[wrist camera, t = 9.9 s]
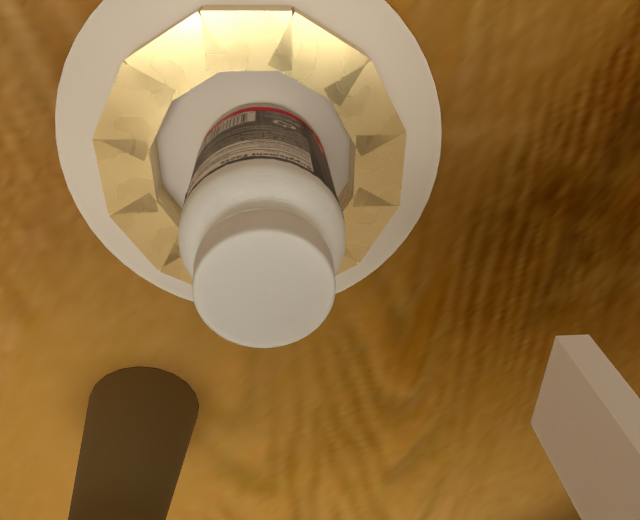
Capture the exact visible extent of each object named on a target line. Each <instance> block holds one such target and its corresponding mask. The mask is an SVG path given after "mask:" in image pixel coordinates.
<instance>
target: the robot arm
mask: <svg viewBox="0 0 640 520" xmlns="http://www.w3.org/2000/svg"><path fill="white" fill-rule="evenodd" d="M530 424H531V426H532V428H533V430H534V431H535V433H536V435H537V437H538V439H539V441H540V443H541V445H542V447H543V448H544V450H545V452H546V454H547V456H548V458H549V460H550V462H551V464H552V466H553V467H554V469H555V471H556V473H557V475H558V477H559V479H560V481H561V483H562V484H563V486H564V488H565V490H566V492H567V494H568V496H569V498H570V500H571V501H572V503H573V505H574V507H575V509H576V511H577V513H578V515H579V517H580V519H581V520H640V398H639V397H638V396H637V395H636V393H635V392H634V391H633V390H632V388H631V387H630V386H629V385H628V383H627V382H626V381H625V379H624V378H623V377H622V376H621V374H620V373H619V372H618V371H617V369H616V368H615V367H614V366H613V364H612V363H611V362H610V361H609V359H608V358H607V357H606V356H605V354H604V353H603V352H602V350H601V349H600V348H599V347H598V345H597V344H596V343H595V342H594V340H593V339H592V338H591V337H590V335H589V334H588V335H562V336H556V337H555V340H554V344H553V347H552V350H551V354H550V357H549V361H548V364H547V368H546V371H545V375H544V378H543V381H542V385H541V388H540V392H539V395H538V399H537V402H536V406H535V409H534V412H533V416H532V419H531V423H530Z"/></svg>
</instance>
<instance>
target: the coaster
mask: <svg viewBox="0 0 640 520" xmlns="http://www.w3.org/2000/svg"><path fill="white" fill-rule="evenodd" d="M204 5H290V6H291V9H292V7H293V6H294V7H296V8H297V9H299V10H300V11H302V12H304V13H305V14H307V15H308V16H310V17H312V18H313V19H315V20H316V21H318V22H320V23H321V24H323V25H324V26H326V27H327V28H329V29H331V30H332V31H334V32H335V33H337V34H339V35H340V36H342V37H343V38H345V39H347V40H348V41H350V42H351V43H353V44H354V45H356V46H358V47H359V48H361V49H362V50H363V51H364V52H365V53H366V54H367V56H368V57H369V58H370V59H371V61H372V63H373V65H374V67H375V69H376V71H377V73H378V75H379V77H380V79H381V81H382V83H383V85H384V87H385V89H386V91H387V93H388V95H389V98H390V100H391V102H392V104H393V106H394V108H395V110H396V112H397V114H398V116H399V118H400V120H401V122H402V124H403V126H404V128H405V130H406V132H405V133H406V134H407V136H406V147H405V157H404V167H403V177H402V187H401V197H400V206H398V207H399V208H398V210H397V211H396V212H395V214H394V215H393V217H392V218H391V219H390V221H389V222H388V224H387V225H386V226H385V228H384V229H383V231H382V232H381V233H380V235H379V236H378V238H377V239H376V240H375V242H374V243H373V245H372V246H371V247H370V249H369V250H368V252H367V253H366V254H365V256H364V257H363V259H362V260H361V261H360V263H358V262H357V264H358V265H356V266H354V267H352V268H350V269H348V270H346V271H344V272H342V273H340V274H338V275H336V276H335V280H336V292H335V294H337V293H339V292H341V291H344V290H345V289H347V288H349V287H350V286H352V285H354V284H356V283H357V282H359V281H361V280H362V279H364V278H365V277H366V276H368V275H369V274H370V273H372V272H373V271H374V270H376V269H377V268H378V267H379V266H381V265H382V264H383V263H384V262H385V261H386V260H387V259H388V258H389V257H390V256H391V255H392V254H393V253H394V252H395V251H396V250H397V249H398V247H399V246H400V245H401V244H402V243H403V241H404V240H405V239H406V238H407V237H408V235H409V234H410V232H411V230H412V229H413V227H414V226H415V224H416V223H417V221H418V220H419V218H420V216H421V214H422V212H423V210H424V208H425V206H426V204H427V202H428V200H429V197H430V194H431V191H432V188H433V185H434V182H435V179H436V175H437V170H438V165H439V160H440V152H441V137H442V128H441V113H440V105H439V101H438V96H437V91H436V86H435V83H434V80H433V77H432V74H431V71H430V69H429V66H428V63H427V60H426V58H425V56H424V54H423V53H422V51H421V49H420V47H419V45H418V43H417V41H416V39H415V37H414V36H413V34H412V33H411V32H410V30H409V29H408V27H407V26H406V25H405V23H404V22H403V20H402V19H401V18H400V16H399V15H398V14H397V13H396V12H395V11H394V10H393V9H392V7H391V6H390V5H389V4H388V3H387V2H386V1H385V0H103V1H102V3H101V4H100V5H99V6H98V7H97V8H96V9H95V10H94V11H93V13H92V14H91V15H90V16H89V18H88V20H87V21H86V23H85V24H84V26H83V27H82V29H81V30H80V32H79V34H78V35H77V37H76V38H75V41H74V43H73V45H72V47H71V50H70V52H69V54H68V56H67V59H66V61H65V64H64V67H63V71H62V75H61V79H60V82H59V86H58V92H57V101H56V110H55V127H56V143H57V148H58V154H59V159H60V165H61V168H62V171H63V174H64V177H65V180H66V183H67V186H68V189H69V191H70V193H71V195H72V197H73V199H74V201H75V203H76V206H77V208H78V210H79V211H80V213H81V214H82V216H83V217H84V219H85V221H86V222H87V224H88V225H89V227H90V228H91V230H92V231H93V232H94V233H95V235H96V236H97V237H98V238H99V239H100V241H101V242H102V243H103V244H104V245H105V247H106V248H107V249H108V250H109V251H110V252H112V253H113V254H114V255H115V256H116V257H117V258H118V259H119V260H120V261H121V262H122V263H123V264H125V265H126V266H127V267H128V268H130V269H131V270H132V271H134V272H135V273H136V274H138V275H139V276H140V277H142V278H144V279H145V280H147V281H149V282H150V283H152V284H154V285H155V286H157V287H159V288H161V289H163V290H165V291H167V292H169V293H172V294H174V295H176V296H178V297H181V298H184V299H187V300H190V301H192V302H194V300H193V294H192V285H191V284H189V283H186V282H184V281H181V280H179V279H176V278H174V277H171V276H169V275H167V274H164V273H162V272H160V269H159V270H157V269H156V268H155V267H154V266H153V265H152V263H151V262H150V261H149V260H148V259H147V258H146V257H145V256H144V254H143V253H142V252H141V251H140V250H139V249H138V248H137V247H136V245H135V244H134V243H133V242H132V241H131V240H130V239H129V238H128V236H127V235H126V234H125V233H124V232H123V231H122V230H121V229H120V228H119V226H118V225H117V224H116V223H115V222H114V221H113V220H112V219H111V217H110V214H108V211H107V206H106V202H105V197H104V192H103V187H102V183H101V178H100V173H99V169H98V164H97V159H96V154H95V150H94V145H93V138H94V137H93V135H94V132H95V130H96V127H97V125H98V122H99V120H100V117H101V115H102V112H103V110H104V107H105V105H106V102H107V100H108V97H109V95H110V92H111V90H112V87H113V85H114V82H115V80H116V77H117V75H118V72H119V69H120V67H121V64H122V62H123V61H124V60H125V59H126V58H127V57H128V56H129V55H130V54H131V53H132V52H133V51H134V50H135V49H137V48H138V47H140V46H141V45H143V44H144V43H146V42H147V41H149V40H150V39H152V38H153V37H155V36H156V35H158V34H159V33H161V32H162V31H164V30H165V29H167V28H169V27H170V26H172V25H173V24H175V23H176V22H178V21H179V20H181V19H182V18H184V17H185V16H187V15H188V14H190V13H191V12H193V11H194V10H196V9H197V8H199V7H200V6H203V7H204ZM248 104H274V105H278V106H281V107H284V108H286V109H288V110H291V111H293V112H294V113H296V114H298V115H299V116H301V117H302V118H303V119H304V120H306V121H307V122H308V123H309V124H310V125H311V127H312V128H313V129H314V130H315V132H316V133H317V135H318V137H319V139H320V141H321V143H322V146H323V149H324V152H325V155H326V158H327V162H328V165H329V169H330V173H331V177H332V181H333V184H334V188H335V191H336V195H337V198H338V196H339V194H340V193H341V191H342V190H343V188H344V187H345V185H346V184H347V182H348V175H349V151H350V136H349V134H348V132H347V130H346V128H345V127H344V125H343V123H342V121H341V119H340V118H339V116H338V114H337V112H336V110H335V109H334V107H333V105H332V103H331V101H330V100H329V99H327V98H325V97H324V96H322V95H320V94H318V93H317V92H315V91H313V90H312V89H310V88H308V87H306V86H305V85H303V84H301V83H299V82H298V81H296V80H294V79H293V78H291V77H289V76H287V75H286V74H284V73H282V72H280V71H220V72H218V73H216V74H215V75H213V76H212V77H210V78H208V79H207V80H205V81H204V82H202V83H200V84H199V85H197V86H196V87H194V88H192V89H191V90H189V91H188V92H186V93H184V94H183V95H181V96H180V97H178V98H176V99H175V100H173V101H172V102H171V104H170V107H169V109H168V111H167V113H166V115H165V117H164V120H163V122H162V124H161V126H160V128H159V131H158V133H157V135H156V143H157V149H158V156H159V163H160V170H161V176H162V183H163V186H164V188H165V189H166V190H167V191H168V193H169V194H170V195H171V196H172V198H173V199H174V200H175V201H176V203H177V204H178V205H179V206H180V208H181V209H182V208H183V205H184V201H185V195H186V193H187V191H188V188H189V184H190V181H191V177H192V174H193V170H194V166H195V163H196V159H197V155H198V152H199V149H200V147H201V144H202V142H203V139H204V137H205V135H206V134H207V132H208V130H209V129H210V128H211V126H212V125H213V124H214V123H215V122H216V121H217V120H218V119H219V118H220V117H222V116H223V115H224V114H226V113H228V112H229V111H231V110H233V109H235V108H238V107H240V106H244V105H248Z"/></svg>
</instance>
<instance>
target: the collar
mask: <svg viewBox="0 0 640 520" xmlns="http://www.w3.org/2000/svg"><path fill="white" fill-rule="evenodd" d="M220 71H280V72H282V73H284V74H286V75H287V76H289V77H291V78H293V79H294V80H296V81H298V82H299V83H301V84H303V85H305V86H306V87H308V88H310V89H312V90H313V91H315V92H317V93H318V94H320V95H322V96H324V97H325V98H327V99H329V100H330V101H331V103H332V105H333V107H334V109H335V110H336V112H337V114H338V116H339V118H340V119H341V121H342V123H343V125H344V127H345V128H346V130H347V132H348V134H349V136H350V151H349V175H348V182H347V184H346V185H345V187H344V188H343V190H342V191H341V193H340V194H339V196H338V201H339V204H340V207H341V209H342V212H343V215H344V222H345V231H346V245H345V252H344V256H343V259H342V262H341V265H340V267H339V269H338V271H337V273H336V274H335V276H336V275H338V274H340V273H342V272H344V271H346V270H348V269H350V268H352V267H354V266H356V265H358V264H357V262H358V263H360V261H361V260H362V259H363V257H364V256H365V254H366V253H367V252H368V250H369V249H370V247H371V246H372V245H373V243H374V242H375V240H376V239H377V238H378V236H379V235H380V233H381V232H382V231H383V229H384V228H385V226H386V225H387V224H388V222H389V221H390V219H391V218H392V217H393V215H394V214H395V212H396V211H397V210H398V208H399V207H398V206H400V197H401V187H402V177H403V167H404V157H405V147H406V136H407V134H406V133H405V132H406V130H405V128H404V126H403V124H402V122H401V120H400V118H399V116H398V114H397V112H396V110H395V108H394V106H393V104H392V102H391V100H390V98H389V95H388V93H387V91H386V89H385V87H384V85H383V83H382V81H381V79H380V77H379V75H378V73H377V71H376V69H375V67H374V65H373V63H372V61H371V59H370V58H369V57H368V56H367V54H366V53H365V52H364V51H363V50H362V49H361V48H359V47H358V46H356V45H354V44H353V43H351V42H350V41H348V40H347V39H345V38H343V37H342V36H340V35H339V34H337V33H335V32H334V31H332V30H331V29H329V28H327V27H326V26H324V25H323V24H321V23H320V22H318V21H316V20H315V19H313V18H312V17H310V16H308V15H307V14H305V13H304V12H302V11H300V10H299V9H297V8H296V7H294V6H293V7H292V9H291V6H290V5H204V7H203V6H200V7H199V8H197V9H196V10H194V11H193V12H191V13H190V14H188V15H187V16H185V17H184V18H182V19H181V20H179V21H178V22H176V23H175V24H173V25H172V26H170V27H169V28H167V29H165V30H164V31H162V32H161V33H159V34H158V35H156V36H155V37H153V38H152V39H150V40H149V41H147V42H146V43H144V44H143V45H141V46H140V47H138V48H137V49H135V50H134V51H133V52H132V53H131V54H130V55H129V56H128V57H127V58H126V59H125V60H124V61H123V62H122V64H121V67H120V69H119V72H118V75H117V77H116V80H115V82H114V85H113V87H112V90H111V92H110V95H109V97H108V100H107V102H106V105H105V107H104V110H103V112H102V115H101V117H100V120H99V122H98V125H97V127H96V130H95V132H94V135H93V137H94V138H93V145H94V150H95V154H96V159H97V164H98V169H99V173H100V178H101V183H102V187H103V192H104V197H105V202H106V206H107V211H108V214H110V217H111V219H112V220H113V221H114V222H115V223H116V224H117V225H118V226H119V228H120V229H121V230H122V231H123V232H124V233H125V234H126V235H127V236H128V238H129V239H130V240H131V241H132V242H133V243H134V244H135V245H136V247H137V248H138V249H139V250H140V251H141V252H142V253H143V254H144V256H145V257H146V258H147V259H148V260H149V261H150V262H151V263H152V265H153V266H154V267H155V268H156V269H157V270H159V269H160V272H162V273H164V274H167V275H169V276H171V277H174V278H176V279H179V280H181V281H184V282H186V283H189V284H191V285H192V280H193V279H192V278H191V276H190V274H189V273H188V271H187V269H186V267H185V266H184V263H183V261H182V258H181V255H180V250H179V243H178V229H179V222H180V217H181V211H182V209H181V208H180V206H179V205H178V204H177V203H176V201H175V200H174V199H173V198H172V196H171V195H170V194H169V193H168V191H167V190H166V189H165V188H164V186H163V183H162V176H161V170H160V163H159V156H158V149H157V143H156V135H157V133H158V131H159V128H160V126H161V124H162V122H163V120H164V117H165V115H166V113H167V111H168V109H169V107H170V104H171V102H172V101H173V100H175V99H176V98H178V97H180V96H181V95H183V94H184V93H186V92H188V91H189V90H191V89H192V88H194V87H196V86H197V85H199V84H200V83H202V82H204V81H205V80H207V79H208V78H210V77H212V76H213V75H215V74H216V73H218V72H220Z"/></svg>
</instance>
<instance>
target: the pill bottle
mask: <svg viewBox="0 0 640 520" xmlns="http://www.w3.org/2000/svg"><path fill="white" fill-rule="evenodd" d="M178 243H179V250H180V255H181V258H182V261H183V263H184V266H185V267H186V269H187V271H188V273H189V274H190V276H191V278H192V279H193V280H192V294H193V300H194V303H195V307H196V309H197V311H198V313H199V315H200V316H201V318H202V319H203V321H204V322H205V323H206V324H207V325H208V326H209V328H211V329H212V330H213V331H214V332H215V333H217V334H218V335H219V336H221V337H223V338H224V339H226V340H229V341H231V342H233V343H236V344H239V345H243V346H247V347H254V348H273V347H278V346H284V345H288V344H290V343H293V342H296V341H298V340H300V339H302V338H304V337H306V336H308V335H309V334H311V333H312V332H313V331H314V330H315V329H317V328H318V327H319V326H320V325H321V324H322V322H323V321H324V320H325V318H326V317H327V315H328V314H329V312H330V310H331V308H332V305H333V302H334V298H335V292H336V280H335V274H336V273H337V271H338V269H339V267H340V265H341V262H342V259H343V256H344V252H345V245H346V231H345V222H344V215H343V212H342V209H341V207H340V204H339V201H338V198H337V195H336V191H335V188H334V184H333V181H332V177H331V173H330V169H329V165H328V162H327V158H326V155H325V152H324V149H323V146H322V143H321V141H320V139H319V137H318V135H317V133H316V132H315V130H314V129H313V128H312V127H311V125H310V124H309V123H308V122H307V121H306V120H304V119H303V118H302V117H301V116H299V115H298V114H296V113H294V112H293V111H291V110H288V109H286V108H284V107H281V106H278V105H274V104H248V105H244V106H240V107H238V108H235V109H233V110H231V111H229V112H228V113H226V114H224V115H223V116H222V117H220V118H219V119H218V120H217V121H216V122H215V123H214V124H213V125H212V126H211V128H210V129H209V130H208V132H207V134H206V135H205V137H204V139H203V142H202V144H201V147H200V149H199V152H198V155H197V159H196V163H195V166H194V170H193V174H192V177H191V181H190V184H189V188H188V191H187V193H186V195H185V201H184V205H183V208H182V211H181V217H180V222H179V229H178Z"/></svg>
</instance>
